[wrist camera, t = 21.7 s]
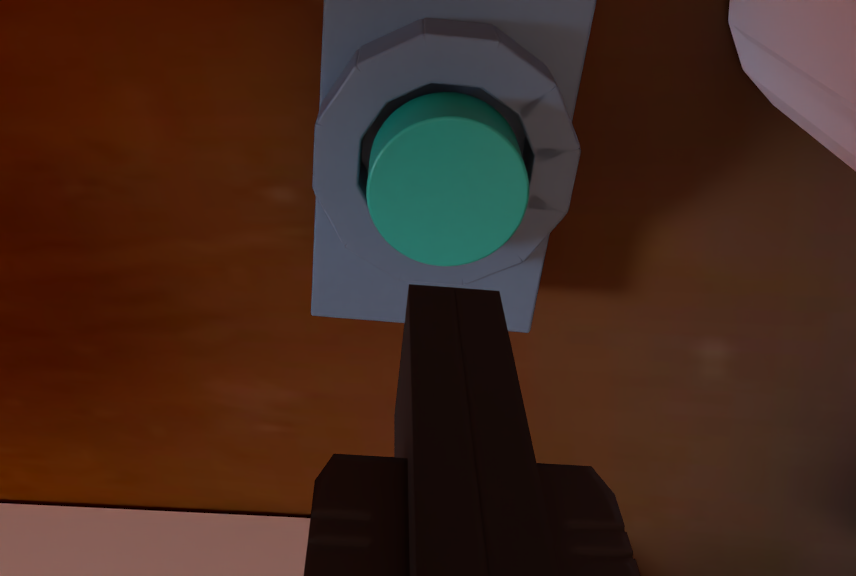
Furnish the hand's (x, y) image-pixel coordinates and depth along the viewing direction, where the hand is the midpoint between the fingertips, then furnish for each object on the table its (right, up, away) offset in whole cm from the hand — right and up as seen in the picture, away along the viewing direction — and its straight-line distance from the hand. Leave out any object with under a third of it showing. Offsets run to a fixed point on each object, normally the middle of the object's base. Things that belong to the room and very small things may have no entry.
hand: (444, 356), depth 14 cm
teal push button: (0, +4, +8) cm, 9 cm away
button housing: (0, +7, +12) cm, 14 cm away
